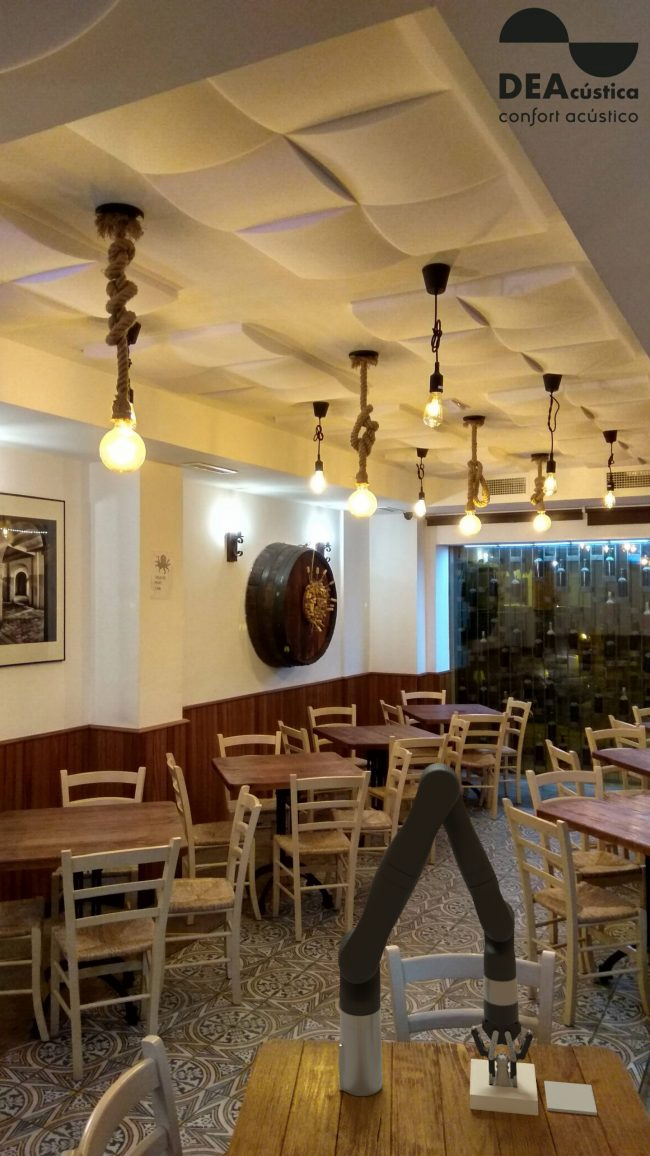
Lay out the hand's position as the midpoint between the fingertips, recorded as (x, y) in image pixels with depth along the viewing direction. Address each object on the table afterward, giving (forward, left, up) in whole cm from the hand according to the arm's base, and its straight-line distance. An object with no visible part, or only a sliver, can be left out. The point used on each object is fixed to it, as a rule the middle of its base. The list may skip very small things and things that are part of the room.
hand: (502, 1075), depth 179 cm
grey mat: (+14, 0, -4) cm, 14 cm away
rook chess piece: (0, 0, -4) cm, 4 cm away
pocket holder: (0, 0, -4) cm, 4 cm away
